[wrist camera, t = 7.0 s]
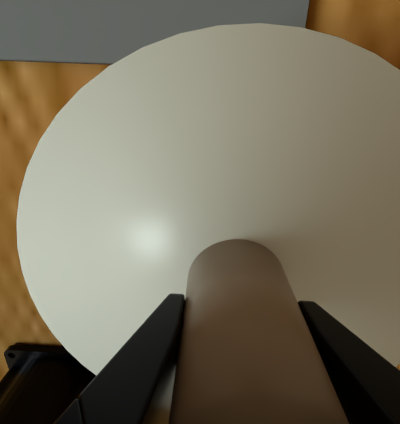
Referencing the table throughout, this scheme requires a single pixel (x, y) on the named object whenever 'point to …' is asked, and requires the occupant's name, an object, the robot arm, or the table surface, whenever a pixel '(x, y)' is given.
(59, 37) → the mat
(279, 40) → the lid
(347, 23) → the table surface
